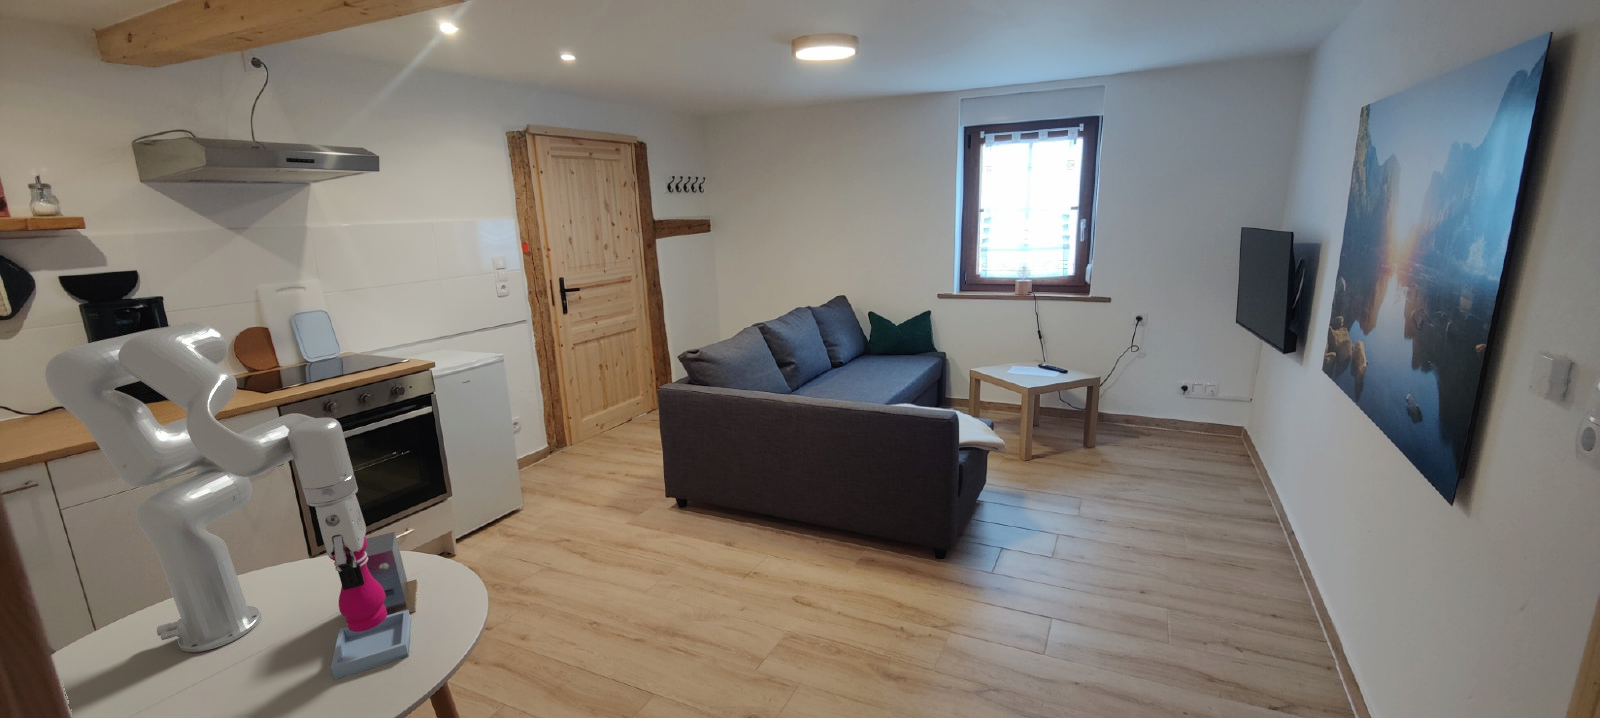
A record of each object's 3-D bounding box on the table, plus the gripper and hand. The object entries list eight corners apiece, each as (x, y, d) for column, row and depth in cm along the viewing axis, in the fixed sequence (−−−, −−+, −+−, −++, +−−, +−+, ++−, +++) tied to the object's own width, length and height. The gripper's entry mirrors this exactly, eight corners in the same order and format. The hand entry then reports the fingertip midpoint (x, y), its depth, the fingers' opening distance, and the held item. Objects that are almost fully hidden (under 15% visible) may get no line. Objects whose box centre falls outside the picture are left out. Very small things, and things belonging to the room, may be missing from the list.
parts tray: (334, 679, 119) (330, 667, 118) (342, 640, 129) (339, 629, 128) (408, 656, 124) (405, 644, 123) (411, 620, 134) (408, 609, 133)
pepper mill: (369, 635, 121) (341, 538, 115) (335, 632, 122) (306, 535, 116) (399, 609, 127) (374, 516, 122) (367, 606, 129) (341, 514, 123)
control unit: (352, 629, 132) (334, 568, 128) (358, 599, 141) (342, 541, 137) (415, 611, 137) (400, 551, 132) (417, 583, 146) (403, 526, 142)
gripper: (350, 503, 111) (375, 596, 116) (361, 464, 126) (383, 549, 131) (295, 515, 108) (324, 611, 113) (313, 474, 122) (338, 561, 128)
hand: (355, 577), depth 122 cm, fingers closed on pepper mill, 5 cm apart
